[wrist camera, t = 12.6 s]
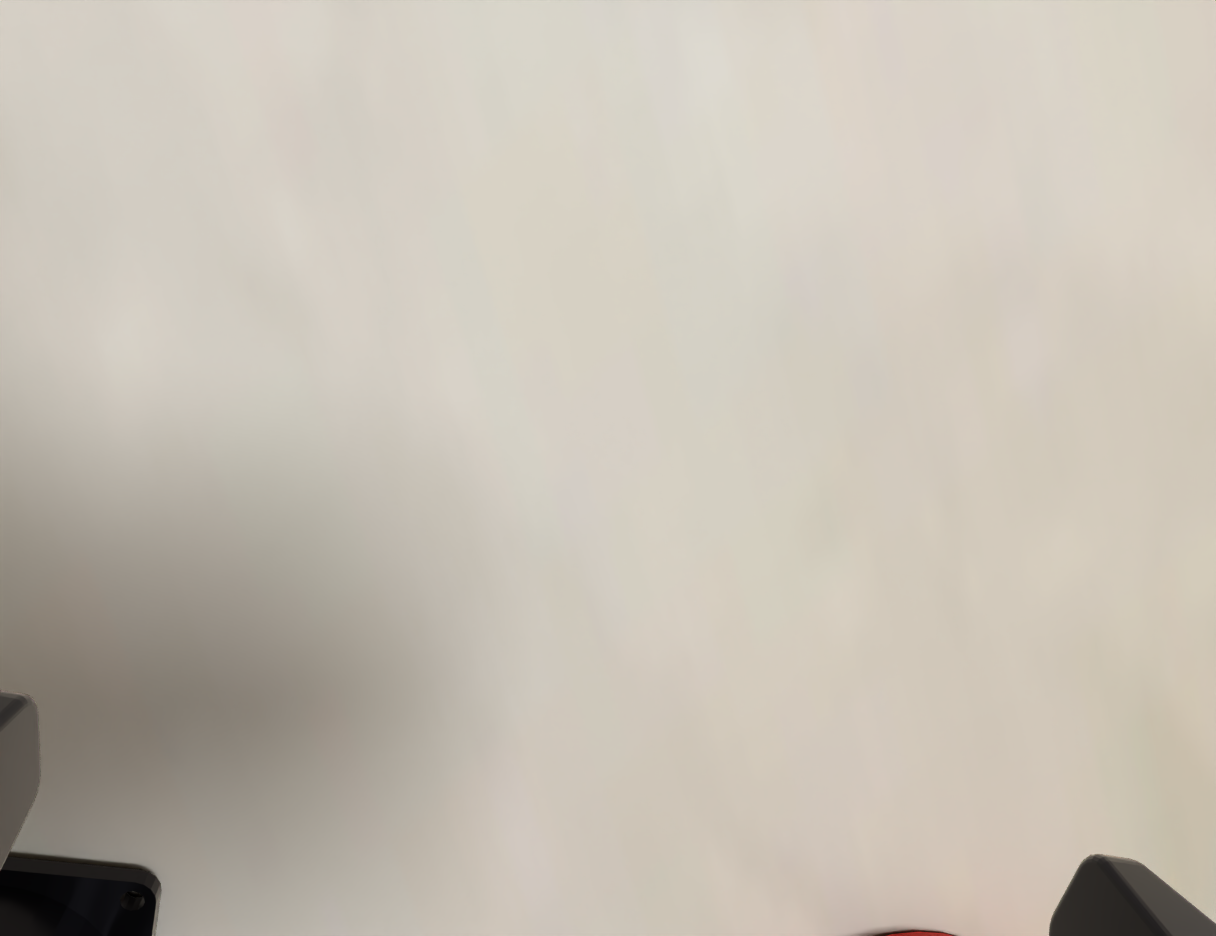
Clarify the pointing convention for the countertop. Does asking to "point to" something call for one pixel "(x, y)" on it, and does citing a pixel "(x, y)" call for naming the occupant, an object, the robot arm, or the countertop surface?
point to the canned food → (919, 934)
